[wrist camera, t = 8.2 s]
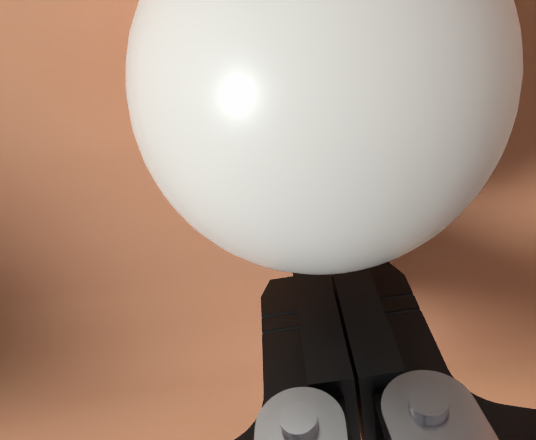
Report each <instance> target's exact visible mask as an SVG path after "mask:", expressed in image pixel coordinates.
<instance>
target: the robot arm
mask: <svg viewBox="0 0 536 440" xmlns="http://www.w3.org/2000/svg"><path fill="white" fill-rule="evenodd" d="M261 312H262V334H263V335H262V346H263V380H264V401H263V405H262V408H261V410H260V412H259V414H258V416H257V419H256V420H255V422H254V423H253V424H252V425H251V427H250V428H249V429H248V430H247V431H246V432H245V433H243V434H242V435H241V436H239V437H238V438H237V439H235V440H361V439H362V440H536V409H530V408H523V407H516V406H509V405H503V404H498V403H494V402H491V401H488V400H485V399H483V398H480V397H478V396H476V395H474V394H473V393H471V392H470V391H469V390H468V389H467V388H466V387H465V386H464V385H463V384H461V383H460V382H459V381H458V380H456V379H454V377H453V376H452V375H451V373H450V372H449V370H448V368H447V366H446V364H445V362H444V360H443V357H442V355H441V353H440V351H439V349H438V346H437V344H436V342H435V340H434V338H433V336H432V333H431V331H430V329H429V327H428V325H427V323H426V320H425V318H424V316H423V314H422V312H421V311H420V308H419V305H418V303H417V301H416V299H415V297H414V296H413V292H412V290H411V288H410V286H409V284H408V281H407V279H406V277H405V275H404V274H403V273H401V272H400V271H399V270H398V269H396V268H395V267H394V266H393V265H391V264H390V263H389V262H386V263H383V264H381V265H377V266H374V267H371V268H367V269H363V270H358V271H353V272H347V273H340V274H326V275H313V274H300V273H293V276H292V277H286V278H279V279H273V280H270V281H269V283H268V285H267V287H266V289H265V291H264V293H263V294H262V296H261ZM360 434H361V436H360Z"/></svg>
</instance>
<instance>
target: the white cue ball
mask: <svg viewBox="0 0 536 440" xmlns="http://www.w3.org/2000/svg"><path fill="white" fill-rule="evenodd" d="M522 78H523V48H522V35H521V28H520V23H519V18H518V14H517V9H516V6H515V2H514V0H139V2H138V6H137V9H136V12H135V15H134V18H133V22H132V25H131V28H130V33H129V40H128V47H127V54H126V96H127V102H128V108H129V113H130V119H131V124H132V130H133V133H134V135H135V138H136V141H137V144H138V147H139V149H140V152H141V155H142V157H143V160H144V162H145V165H146V166H147V168H148V170H149V172H150V174H151V176H152V177H153V179H154V181H155V182H156V184H157V186H158V187H159V189H160V190H161V192H162V193H163V195H164V196H165V197H166V199H167V200H168V201H169V203H170V204H171V205H172V206H173V208H174V209H175V210H176V211H177V212H178V213H179V214H180V215H181V216H182V217H183V218H184V219H185V220H186V221H187V222H188V223H189V224H190V225H191V226H192V227H193V228H194V229H195V230H196V231H198V232H199V233H201V234H202V235H203V236H205V237H206V238H207V239H209V240H210V241H212V242H213V243H215V244H216V245H217V246H219V247H220V248H222V249H224V250H226V251H227V252H229V253H231V254H233V255H235V256H238V257H240V258H243V259H245V260H247V261H250V262H252V263H255V264H257V265H260V266H263V267H267V268H270V269H274V270H279V271H284V272H292V273H300V274H313V275H326V274H340V273H347V272H353V271H358V270H363V269H367V268H371V267H374V266H377V265H381V264H383V263H386V262H389V261H391V260H394V259H396V258H398V257H400V256H402V255H405V254H406V253H408V252H410V251H412V250H414V249H415V248H417V247H419V246H421V245H422V244H424V243H425V242H427V241H429V240H430V239H432V238H433V237H435V236H436V235H437V234H439V233H440V232H441V231H443V230H444V229H445V228H446V227H448V226H449V225H450V224H451V223H452V222H453V221H454V220H455V219H456V218H457V217H458V216H459V215H460V214H461V213H462V212H463V211H464V210H465V209H466V208H467V207H468V206H469V205H470V203H471V202H472V201H473V200H474V199H475V198H476V196H477V195H478V194H479V193H480V191H481V190H482V188H483V187H484V185H485V184H486V182H487V181H488V179H489V178H490V176H491V174H492V173H493V171H494V169H495V168H496V166H497V165H498V163H499V161H500V158H501V156H502V154H503V152H504V150H505V148H506V145H507V143H508V140H509V137H510V134H511V132H512V129H513V125H514V122H515V119H516V116H517V113H518V107H519V100H520V93H521V85H522Z"/></svg>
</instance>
